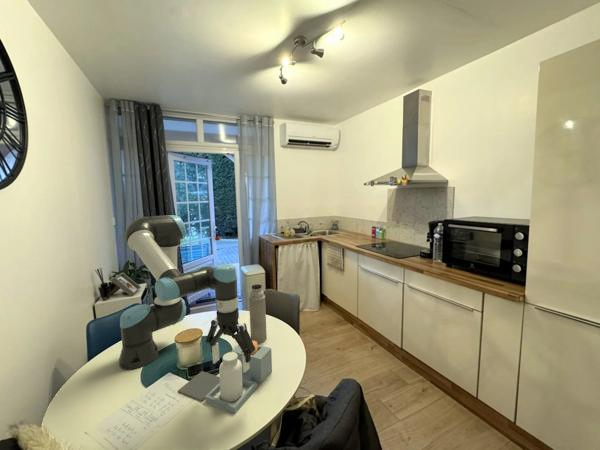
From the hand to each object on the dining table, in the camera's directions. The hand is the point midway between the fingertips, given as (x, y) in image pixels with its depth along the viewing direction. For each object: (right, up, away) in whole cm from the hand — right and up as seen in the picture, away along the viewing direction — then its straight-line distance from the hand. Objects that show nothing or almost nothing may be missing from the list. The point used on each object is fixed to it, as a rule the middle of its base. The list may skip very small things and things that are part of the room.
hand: (230, 365), depth 94 cm
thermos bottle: (+4, -7, +39) cm, 40 cm away
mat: (-13, -11, +6) cm, 18 cm away
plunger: (+5, -5, +13) cm, 14 cm away
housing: (+2, -11, +6) cm, 13 cm away
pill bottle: (0, -12, +1) cm, 12 cm away
